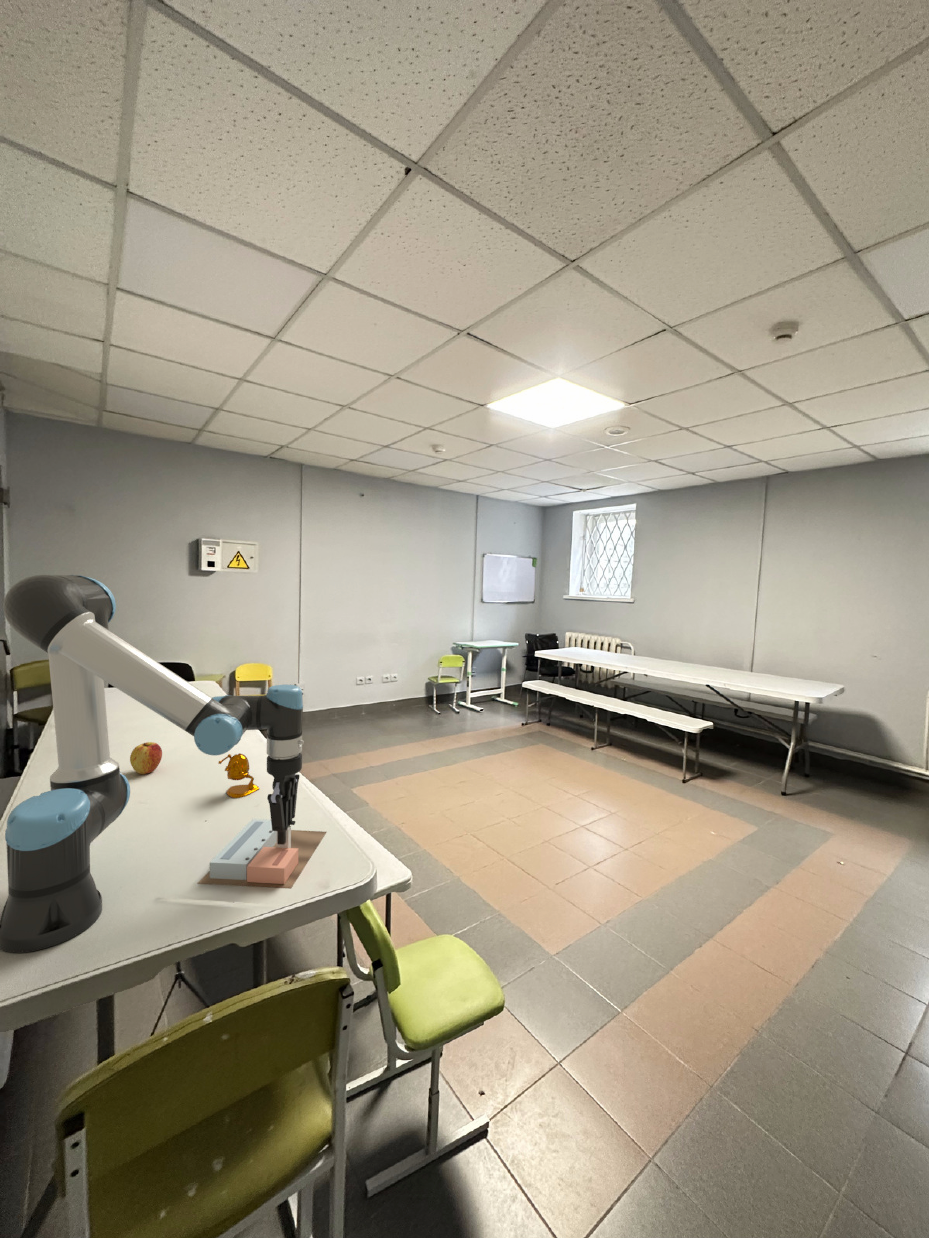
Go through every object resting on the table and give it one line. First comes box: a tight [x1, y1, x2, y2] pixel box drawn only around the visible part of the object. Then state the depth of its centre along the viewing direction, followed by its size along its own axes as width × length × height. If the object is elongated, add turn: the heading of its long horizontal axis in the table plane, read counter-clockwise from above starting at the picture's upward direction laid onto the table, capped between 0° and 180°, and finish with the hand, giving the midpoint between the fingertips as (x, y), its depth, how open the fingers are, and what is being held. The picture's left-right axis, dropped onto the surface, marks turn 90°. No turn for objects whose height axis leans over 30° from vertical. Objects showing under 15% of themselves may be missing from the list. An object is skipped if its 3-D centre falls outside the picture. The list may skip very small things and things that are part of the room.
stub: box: [247, 847, 298, 884], centre depth 109 cm, size 8×8×4 cm
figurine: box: [217, 753, 260, 799], centre depth 152 cm, size 8×11×12 cm
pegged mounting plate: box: [209, 818, 277, 880], centre depth 116 cm, size 20×8×4 cm, turn 178°
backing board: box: [197, 829, 328, 889], centre depth 116 cm, size 24×20×1 cm
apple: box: [129, 741, 163, 775], centre depth 165 cm, size 9×9×10 cm
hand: (283, 854), depth 114 cm, fingers closed
